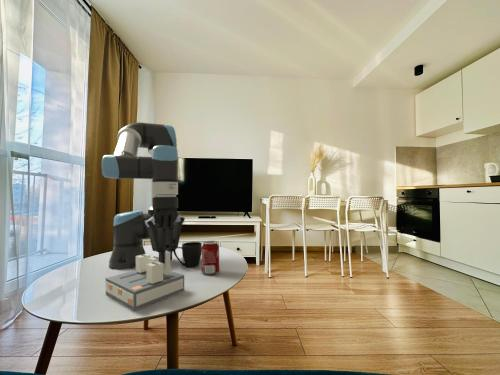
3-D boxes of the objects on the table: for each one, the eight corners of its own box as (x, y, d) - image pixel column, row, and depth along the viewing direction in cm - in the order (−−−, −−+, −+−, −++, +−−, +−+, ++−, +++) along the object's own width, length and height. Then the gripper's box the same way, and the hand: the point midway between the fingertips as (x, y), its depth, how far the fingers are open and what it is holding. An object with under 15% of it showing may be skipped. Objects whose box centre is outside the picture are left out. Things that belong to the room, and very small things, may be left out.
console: (104, 294, 74) (104, 277, 74) (153, 279, 87) (153, 265, 87) (133, 311, 63) (133, 292, 63) (184, 291, 76) (184, 274, 76)
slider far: (135, 271, 80) (135, 255, 80) (145, 268, 82) (145, 253, 83) (140, 272, 78) (140, 256, 78) (150, 270, 81) (150, 254, 81)
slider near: (146, 281, 70) (146, 263, 70) (157, 278, 73) (157, 260, 73) (152, 283, 68) (152, 265, 68) (163, 280, 71) (163, 262, 71)
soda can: (215, 276, 89) (215, 244, 90) (198, 275, 91) (198, 243, 91) (221, 270, 96) (221, 240, 96) (205, 269, 97) (205, 240, 98)
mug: (170, 266, 102) (170, 244, 102) (197, 262, 109) (197, 241, 109) (176, 271, 95) (176, 247, 95) (204, 266, 102) (204, 244, 102)
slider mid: (148, 273, 77) (148, 257, 77) (158, 271, 80) (158, 255, 80) (153, 275, 75) (153, 259, 75) (163, 272, 78) (163, 256, 78)
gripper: (152, 196, 67) (152, 282, 66) (190, 195, 77) (190, 269, 76) (138, 196, 71) (138, 276, 70) (175, 195, 81) (176, 265, 81)
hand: (165, 273), depth 73 cm, fingers closed
